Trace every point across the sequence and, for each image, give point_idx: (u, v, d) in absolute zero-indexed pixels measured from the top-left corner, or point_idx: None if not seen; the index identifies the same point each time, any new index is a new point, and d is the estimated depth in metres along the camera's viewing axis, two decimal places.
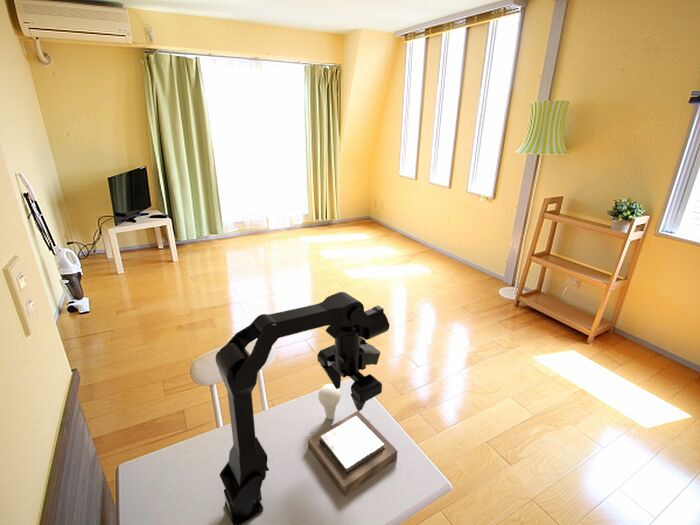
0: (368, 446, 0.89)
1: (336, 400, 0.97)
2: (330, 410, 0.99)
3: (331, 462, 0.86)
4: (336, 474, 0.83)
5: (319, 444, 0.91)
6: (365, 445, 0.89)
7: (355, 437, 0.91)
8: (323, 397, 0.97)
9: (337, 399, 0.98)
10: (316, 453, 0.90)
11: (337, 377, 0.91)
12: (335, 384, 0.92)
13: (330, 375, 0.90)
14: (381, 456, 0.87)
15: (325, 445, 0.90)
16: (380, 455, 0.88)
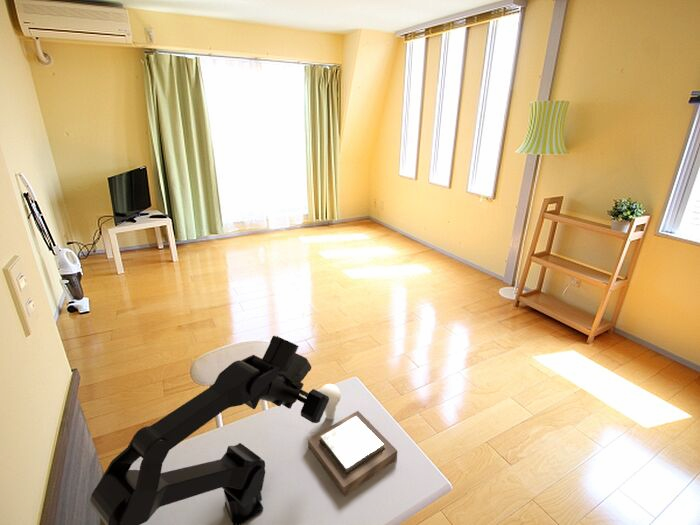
0: (368, 446, 0.89)
1: (336, 400, 0.97)
2: (330, 410, 0.99)
3: (331, 462, 0.86)
4: (336, 474, 0.83)
5: (319, 444, 0.91)
6: (365, 445, 0.89)
7: (355, 437, 0.91)
8: None
9: (337, 399, 0.98)
10: (316, 453, 0.90)
11: None
12: None
13: None
14: (381, 456, 0.87)
15: (325, 445, 0.90)
16: (380, 455, 0.88)
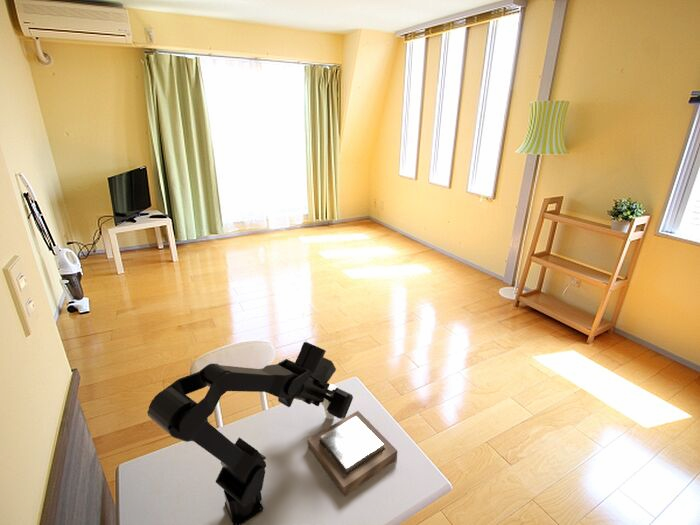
0: (368, 446, 0.89)
1: None
2: None
3: (331, 462, 0.86)
4: (336, 474, 0.83)
5: (319, 444, 0.91)
6: (365, 445, 0.89)
7: (355, 437, 0.91)
8: None
9: None
10: (316, 453, 0.90)
11: None
12: None
13: None
14: (381, 456, 0.87)
15: (325, 445, 0.90)
16: (380, 455, 0.88)
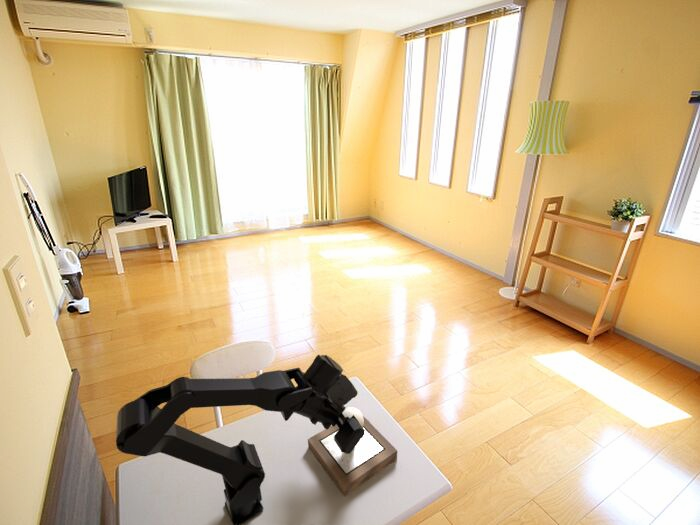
0: (367, 450, 0.89)
1: None
2: None
3: (331, 462, 0.86)
4: (336, 474, 0.83)
5: (319, 444, 0.91)
6: (365, 449, 0.89)
7: None
8: None
9: None
10: (316, 453, 0.90)
11: None
12: None
13: None
14: (381, 456, 0.87)
15: None
16: (380, 455, 0.88)
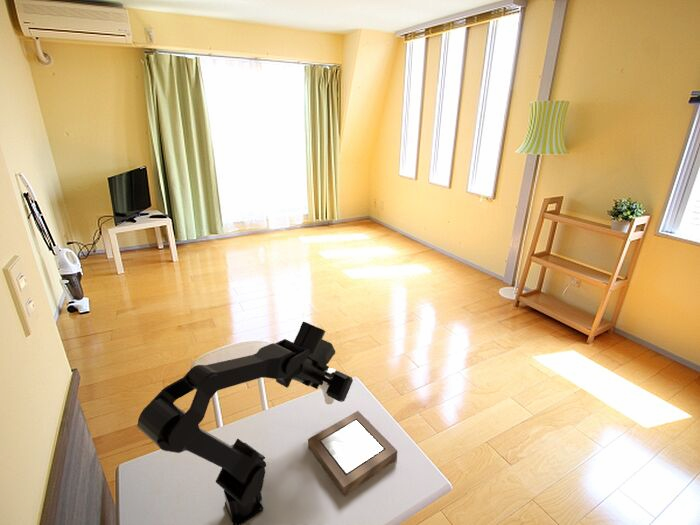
0: (367, 450, 0.89)
1: None
2: None
3: (331, 462, 0.86)
4: (336, 474, 0.83)
5: (319, 444, 0.91)
6: (365, 449, 0.89)
7: (355, 441, 0.92)
8: None
9: None
10: (316, 453, 0.90)
11: None
12: None
13: None
14: (381, 456, 0.87)
15: None
16: (380, 455, 0.88)
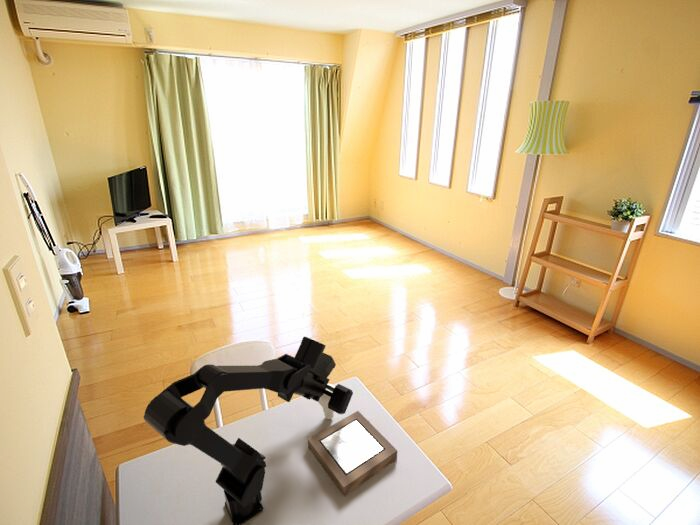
0: (367, 450, 0.89)
1: None
2: (328, 410, 0.99)
3: (331, 462, 0.86)
4: (336, 474, 0.83)
5: (319, 444, 0.91)
6: (365, 449, 0.89)
7: (355, 441, 0.92)
8: (321, 396, 0.97)
9: None
10: (316, 453, 0.90)
11: None
12: None
13: None
14: (381, 456, 0.87)
15: None
16: (380, 455, 0.88)
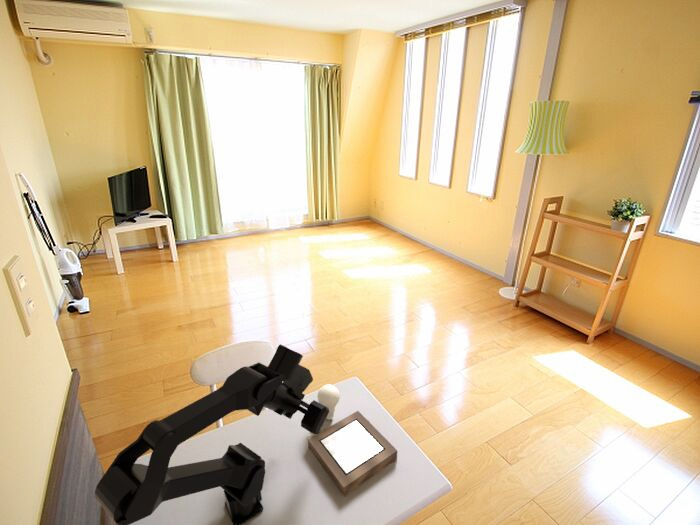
0: (367, 450, 0.89)
1: (335, 401, 0.97)
2: (329, 411, 0.99)
3: (331, 462, 0.86)
4: (336, 474, 0.83)
5: (319, 444, 0.91)
6: (365, 449, 0.89)
7: (355, 441, 0.92)
8: (322, 397, 0.97)
9: (336, 400, 0.97)
10: (316, 453, 0.90)
11: None
12: None
13: None
14: (381, 456, 0.87)
15: None
16: (380, 455, 0.88)
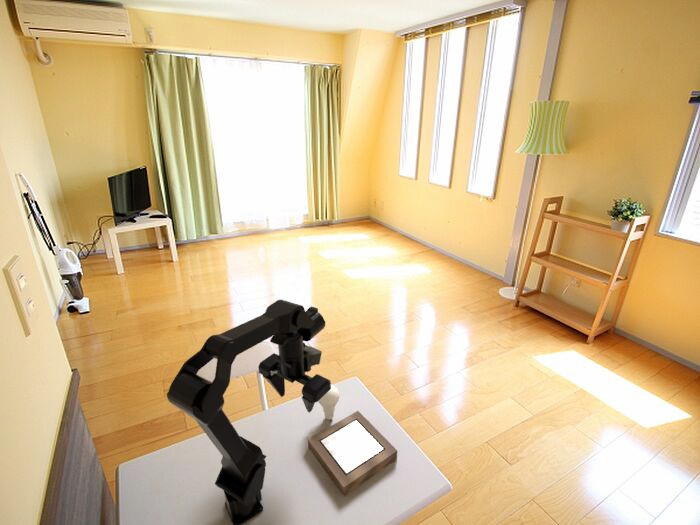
0: (367, 450, 0.89)
1: (335, 400, 0.97)
2: (329, 410, 0.99)
3: (331, 462, 0.86)
4: (336, 474, 0.83)
5: (319, 444, 0.91)
6: (365, 449, 0.89)
7: (355, 441, 0.92)
8: None
9: (336, 399, 0.98)
10: (316, 453, 0.90)
11: (281, 384, 0.92)
12: (280, 392, 0.91)
13: (274, 384, 0.90)
14: (381, 456, 0.87)
15: None
16: (380, 455, 0.88)
